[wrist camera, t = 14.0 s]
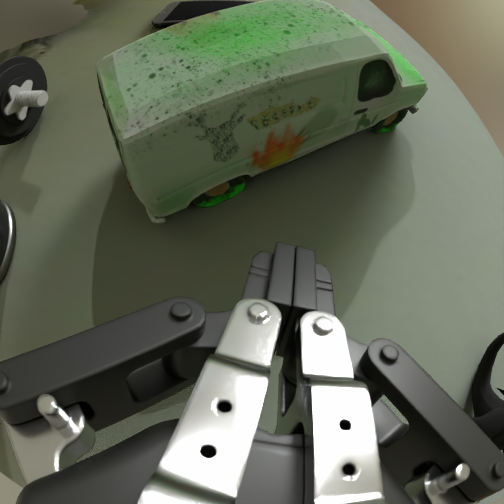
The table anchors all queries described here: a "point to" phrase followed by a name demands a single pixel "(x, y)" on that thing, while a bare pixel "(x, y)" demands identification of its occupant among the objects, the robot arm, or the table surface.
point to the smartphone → (193, 10)
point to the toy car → (246, 97)
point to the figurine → (489, 397)
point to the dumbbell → (20, 97)
